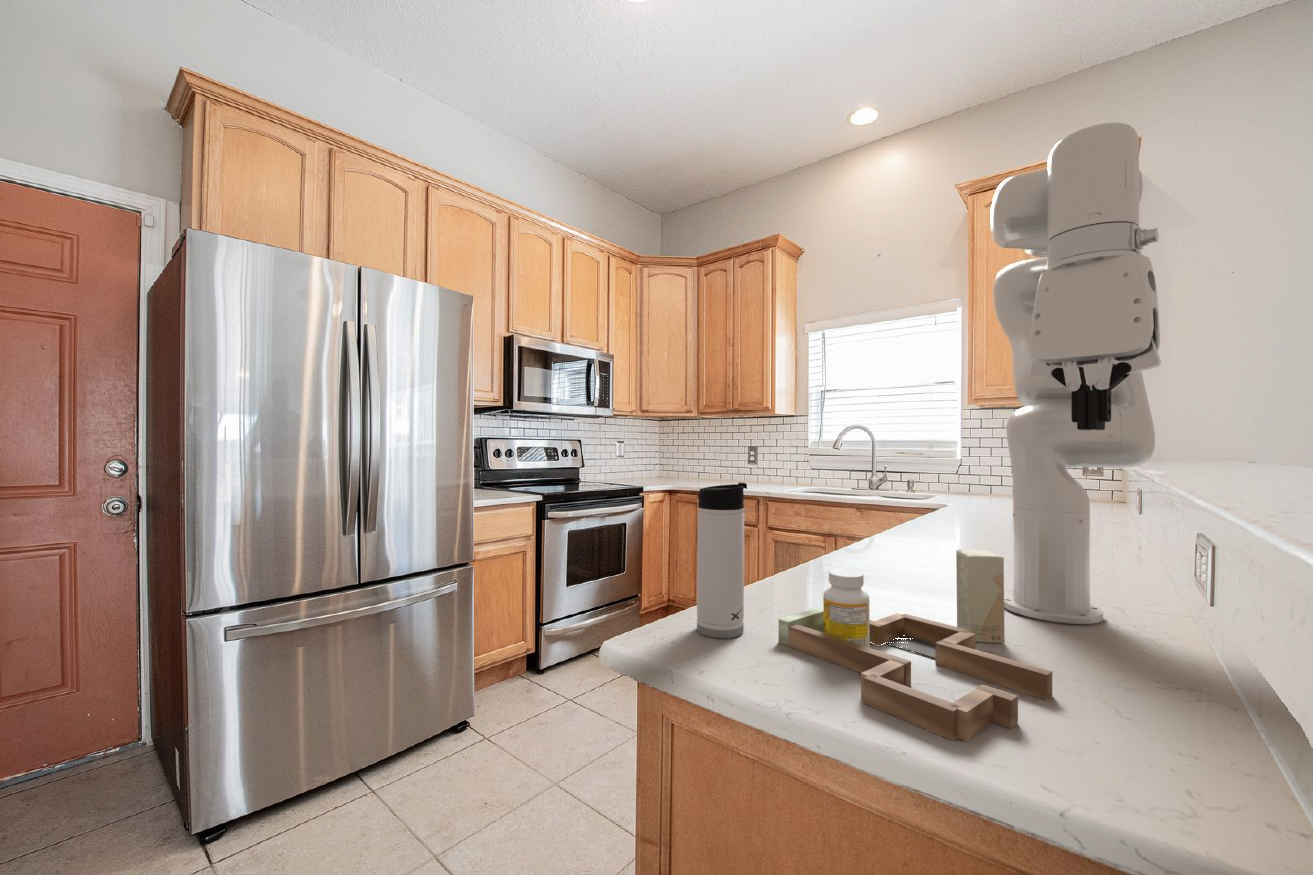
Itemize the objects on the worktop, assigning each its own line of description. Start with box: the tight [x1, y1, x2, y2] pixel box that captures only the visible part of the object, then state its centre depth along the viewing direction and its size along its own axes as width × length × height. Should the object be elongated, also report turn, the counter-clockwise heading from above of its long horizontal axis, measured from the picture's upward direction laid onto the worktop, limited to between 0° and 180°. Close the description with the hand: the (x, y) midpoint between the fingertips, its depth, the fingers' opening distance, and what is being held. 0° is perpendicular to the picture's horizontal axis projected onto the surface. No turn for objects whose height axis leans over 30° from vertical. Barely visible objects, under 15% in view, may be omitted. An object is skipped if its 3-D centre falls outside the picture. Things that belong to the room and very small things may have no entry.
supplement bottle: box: [822, 568, 871, 648], centre depth 68 cm, size 5×5×10 cm
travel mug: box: [696, 482, 748, 640], centre depth 75 cm, size 6×7×20 cm
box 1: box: [778, 605, 1053, 742], centre depth 63 cm, size 23×26×3 cm
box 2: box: [955, 549, 1006, 644], centre depth 73 cm, size 5×4×11 cm
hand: (1091, 429), depth 58 cm, fingers closed
